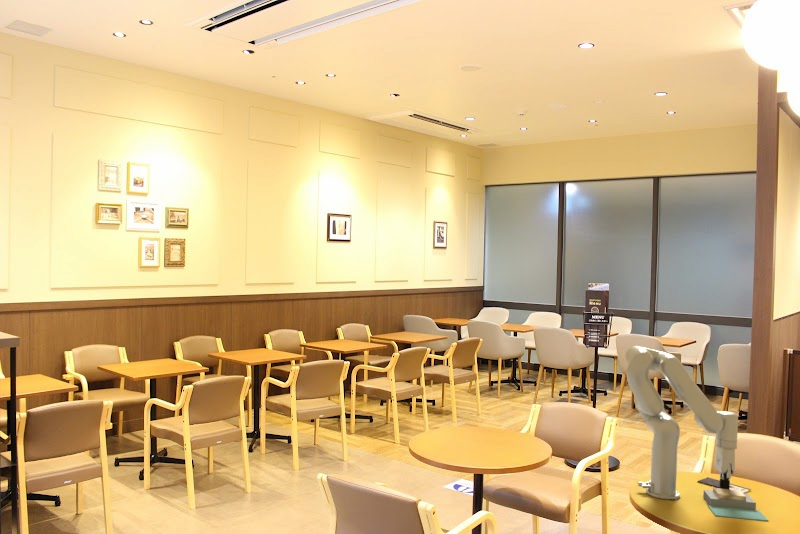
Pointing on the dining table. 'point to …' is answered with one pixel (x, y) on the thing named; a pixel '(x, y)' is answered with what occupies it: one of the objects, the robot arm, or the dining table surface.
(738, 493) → the brass tile
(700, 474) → the dining table surface
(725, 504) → the gray block
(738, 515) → the teal mat
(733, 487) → the chocolate bar
